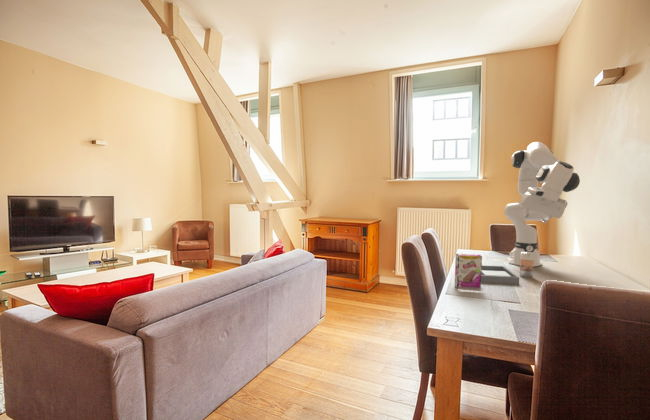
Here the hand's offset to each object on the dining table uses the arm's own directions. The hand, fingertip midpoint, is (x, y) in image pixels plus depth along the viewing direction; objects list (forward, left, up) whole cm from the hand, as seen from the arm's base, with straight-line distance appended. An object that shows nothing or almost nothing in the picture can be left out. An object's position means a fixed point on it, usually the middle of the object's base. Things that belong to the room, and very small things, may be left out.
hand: (534, 219), depth 165 cm
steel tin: (-11, +1, -32) cm, 34 cm away
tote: (-6, -17, -32) cm, 37 cm away
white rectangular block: (-1, -17, -31) cm, 36 cm away
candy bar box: (+13, -33, -33) cm, 48 cm away
